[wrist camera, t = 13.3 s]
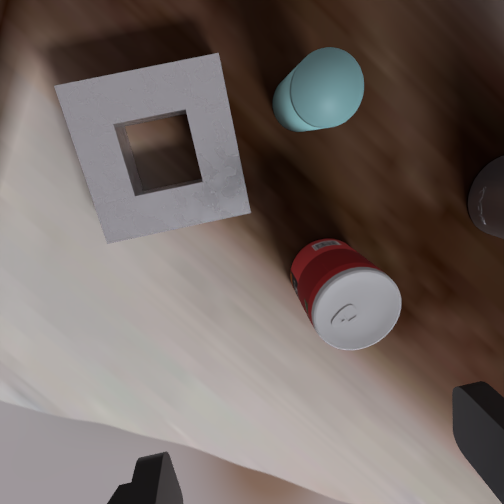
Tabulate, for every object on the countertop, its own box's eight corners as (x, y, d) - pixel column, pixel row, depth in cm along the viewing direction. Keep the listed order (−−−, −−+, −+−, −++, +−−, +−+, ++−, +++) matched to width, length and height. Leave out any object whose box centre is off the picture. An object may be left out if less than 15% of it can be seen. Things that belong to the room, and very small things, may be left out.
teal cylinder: (321, 68, 35) (359, 40, 25) (329, 125, 37) (367, 119, 27) (267, 79, 35) (286, 55, 25) (277, 136, 36) (298, 134, 27)
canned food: (275, 276, 41) (294, 321, 30) (321, 222, 39) (358, 250, 29) (323, 312, 43) (357, 366, 32) (368, 261, 41) (420, 301, 31)
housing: (218, 63, 34) (218, 52, 30) (247, 205, 38) (250, 212, 34) (72, 92, 34) (54, 85, 30) (118, 233, 38) (107, 243, 34)
